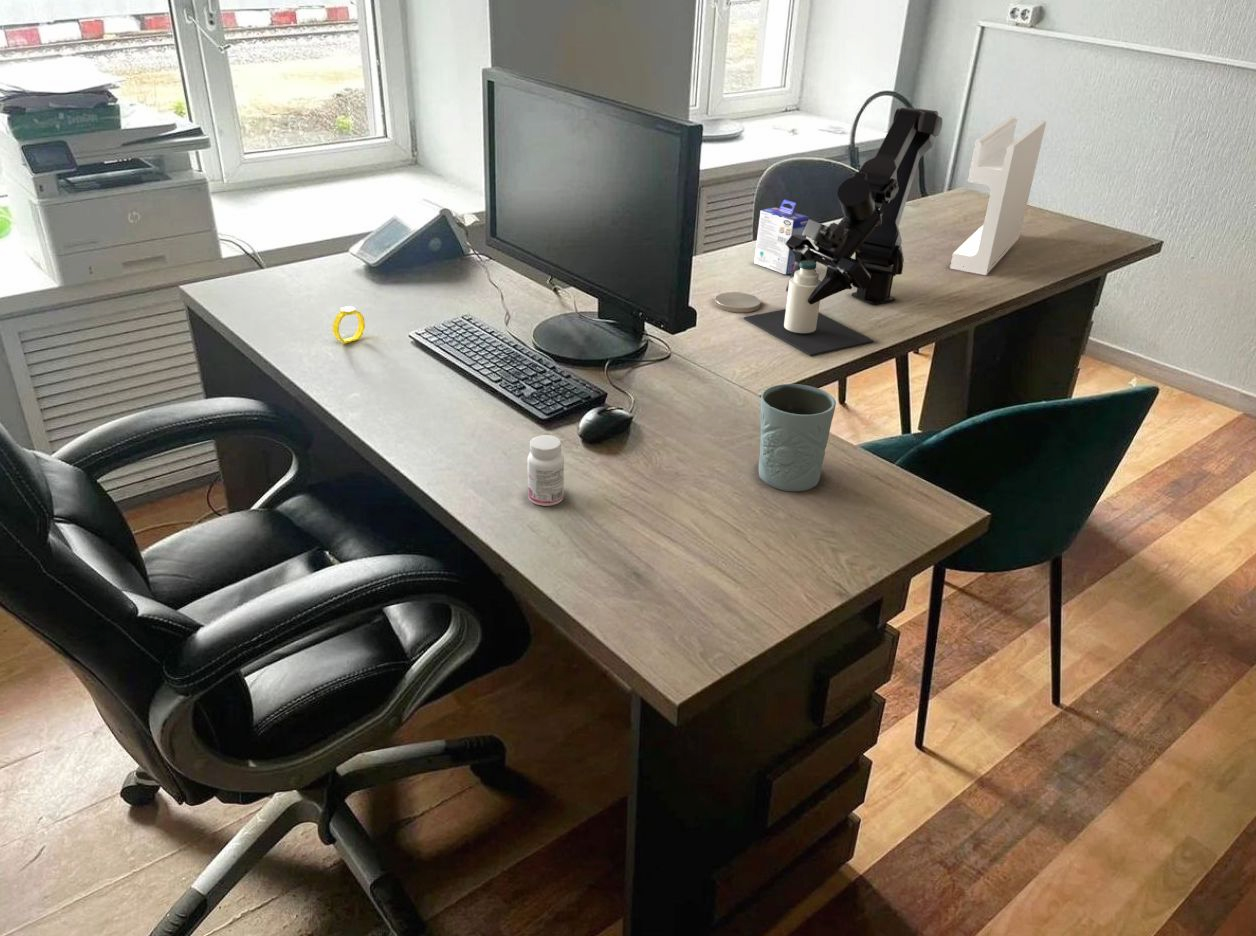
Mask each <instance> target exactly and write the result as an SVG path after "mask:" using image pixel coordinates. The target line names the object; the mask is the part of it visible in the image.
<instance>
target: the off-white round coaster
mask: <svg viewBox="0 0 1256 936" xmlns="http://www.w3.org/2000/svg"><path fill="white" fill-rule="evenodd" d="M714 305H715V307H717V308H718V309H720V310H722V311H727V312H732V313H751V312H755V311H758V310H759V309H760V307H761V300H760V299H759V297H757V296H756V295H753V294H750V293H746V292H740V291H739V292H738V291H730V292H722V293H719V294H717V295H716V296H715V297H714Z"/></svg>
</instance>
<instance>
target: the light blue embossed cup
mask: <svg viewBox="0 0 1256 936" xmlns="http://www.w3.org/2000/svg"><path fill="white" fill-rule="evenodd" d="M836 405H837V401H836V399H835V398H834V396H833V395H832V394H830V393H828V392H827V391H826V390H823V389H822V388H821V389H820V388H818V387H815V386H811V385H806V384H799V383H797V384H796V383H784V384H776V385H772V386H770V387H768V388H766V389H765V390H764V391H763V392H762V393H761V396H760V439H759V458H758V476H759V479H761V481H762V482H763V483H765V484H766V485H768V486H770V487H772V488H774V489H776V490H780V491H786V492H804V491H808V490H812V489H813V488H815V487H816V486H817V485H818V484H819V482H820V479H821V474H822V467H823V463H824V460H825V454H826V449H827V445H828V441H829V437H830V432H831V426H832V423H833V419H834V415H835V412H836V411H835V410H836Z"/></svg>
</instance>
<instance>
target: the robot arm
mask: <svg viewBox="0 0 1256 936" xmlns="http://www.w3.org/2000/svg"><path fill="white" fill-rule="evenodd" d="M942 127H943V118H942V117H941V116H939V112H938V111H937V110H932V109H923V108H916V107H900V108H896V110H895V112H894V115H893V120H892V124H891V126H890V127H889V129H888V131H887V133H886V135H885V137H884V139H883V141H882V142H881V144H880V147H879V148H878V151H877V153H876V154H875V156H874V157H872V158H870V159H868V160H867V161H865V162H863V164H862V165H861V167H860V168H859V170H858V171H856V172H855V174H853V176H852V177H849V178H847V179H845V180H844V181H843V182H842V183H841V184H839V186H838V188H837V192H836V194H837V199H838V202H839V205H840V207H841V211H842V214H843V215H844V216H843V217H842V219H841V220H840V221H839V222H838V223H836V222H832V223H830V224H829V225H825V224H823V223H822V222H821V223H820V222H818V221H816V220H813V219H811V218H809V220H808V222H807V224H806V227H805V229H804V231H803V233H802V236H805V237H806V238H804V237H802V236H799V235H792V236H791V237H790V238H789V240H788V241H787V242H786V243H785V244H786V245H787V247H788V248H789V249H790V250H791V252H792V253H793V254H794V256H795V265H794V269H793V272H792V273H791V274H790V277H789V280H790V279H791V278H792V277H794V274H795V271H797V270H800V267H799V265H800V262H801V261H804V260H808V261H813V262H815V263H816V264H817V263H819V264H821V265H824V266H825V267H826V271H825V275H824V277H823V278H822V279H821V280H820V281H821V282H820V284H819V285H818V286H817V288H816V289H815V290H814V292H813V293H812V294H811V296H810V297H809V299H808V303H809V304H811V305H812V304H814V303H816V302H818V301H820V302H821V301H823V300H825V299H827V298H828V297H830V296H833V295H835V294H838V293H840V292H843V291H845V290H852V289H853V287H854V288H856V291H855V292H854V291H853V292H851V296H852V297H854V298H856V299H858V300H860V301H863V302H865V303H867V304H869V305H872V306H874V305H881V304H886V303H889V302H895V301H896V297H894V296H892V295H891V294H892V287H893V282H894V277H896V276H897V275H903V268H904V262H905V257H904V254H903V247H902V244H903V242H902V241H903V240H902V237H901V232H900V228H899V226H900V223H901V220H902V216H903V213H904V209H905V206H906V204H907V200H908V198H909V194H910V191H911V188H912V185H913V182H914V178H915V176H916V173H917V169H918V166H919V164H920V160H921V158H922V157H923V156H924V155H926V153H927V152H928V151H929V150H930V149H932V148H933V146H934V144H935V141H936V138H937V137H939V135H940V133H941V130H942ZM876 204H880V207H878V206H877V205H876ZM810 239H811V240H812V241H813V243H812V242H811V241H810ZM813 244H814V245H813ZM816 247H817V248H818V249H816ZM853 255H855V256H854V258H853ZM814 271H815V272H817V270H816V269H815V270H814ZM788 287H789V281H788V282H787V285H786V289H785V292H786V293H787V294H788Z"/></svg>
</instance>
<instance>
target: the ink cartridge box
mask: <svg viewBox="0 0 1256 936" xmlns="http://www.w3.org/2000/svg"><path fill="white" fill-rule="evenodd" d="M797 204H798V203H797V202H794V201H791V200H788V199H783V200H782V202H781V204H780V205H779V207H769V208H764V209H761V210H760V212H759V219H758V228H757V237H756V245H755V253H754V261H753V264H754V265H757V266H761V267H763V268H765V269H768V270H771V271H773V272H776V273H779V274H783V275H791V274H792V272H793V269H794V265H795V256H794V254H793V253H792V252H791V250H790V249H789V248H788V247H787V245H786V244H785V243H786V242H787V241H788V240H789V238H790V237H791V236H792V235H799V236H802V233H803V231H804V229H805V227H806V224H807V222H808V220H809V219H810V217H809V216H807V215H804V214H802V213H797V212H794V211H795V210H796V209H795V208H796V206H797ZM785 205H790V207H791V208H789V207H786V206H785ZM802 237H804V238H806V239H807V236H806V237H805V236H802Z"/></svg>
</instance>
